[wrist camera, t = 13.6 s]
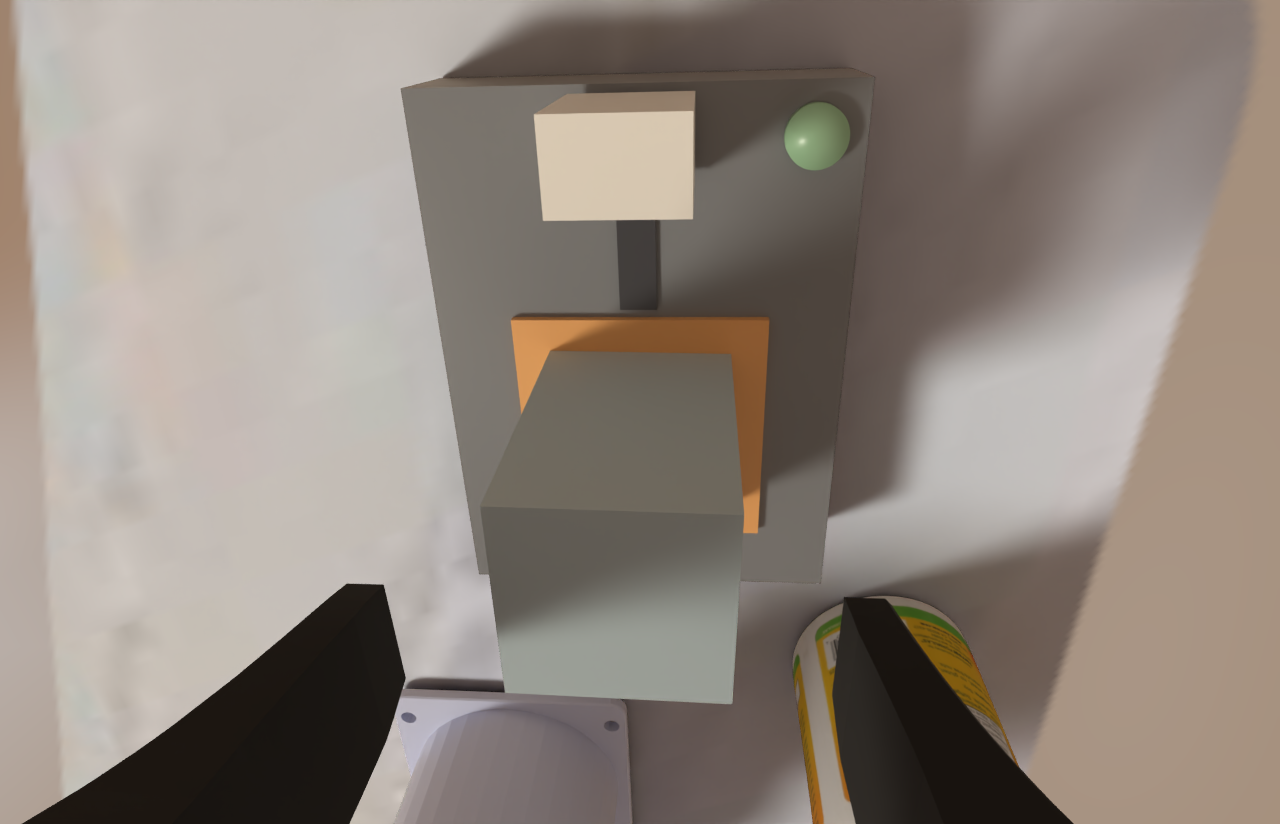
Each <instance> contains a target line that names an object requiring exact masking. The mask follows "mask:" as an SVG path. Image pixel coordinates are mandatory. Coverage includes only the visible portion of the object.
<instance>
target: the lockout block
mask: <svg viewBox="0 0 1280 824" xmlns="http://www.w3.org/2000/svg"><path fill="white" fill-rule="evenodd" d="M480 510H481V517H482V525H483V532H484V540H485V547H486V554H487V562H488V569H489V577H490V584H491V592H492V599H493V607H494V614H495V622H496V629H497V637H498V644H499V652H500V659H501V667H502V674H503V681H504V689H505V693H518V694H538V695H557V696H577V697H597V698H617V699H636V700H656V701H676V702H696V703H716V704H732V700H733V684H734V668H735V653H736V637H737V621H738V606H739V590H740V575H741V559H742V543H743V528H744V505H743V493H742V481H741V469H740V456H739V444H738V432H737V420H736V408H735V395H734V383H733V371H732V359H731V354H708V353H653V352H598V351H550V352H549V354H548V356H547V359H546V361H545V363H544V365H543V367H542V370H541V372H540V374H539V376H538V379H537V381H536V383H535V385H534V387H533V390H532V392H531V394H530V396H529V399H528V401H527V403H526V405H525V407H524V410H523V412H522V414H521V416H520V419H519V421H518V423H517V425H516V428H515V430H514V432H513V434H512V436H511V439H510V441H509V443H508V445H507V448H506V450H505V452H504V454H503V456H502V459H501V461H500V463H499V465H498V468H497V470H496V472H495V474H494V476H493V479H492V481H491V483H490V485H489V488H488V490H487V492H486V494H485V496H484V499H483V501H482V503H481V505H480Z"/></svg>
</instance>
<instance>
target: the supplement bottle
mask: <svg viewBox="0 0 1280 824" xmlns="http://www.w3.org/2000/svg"><path fill="white" fill-rule="evenodd" d="M864 598H885V599H886V600H887V601H888V602H889V603H890V604H891V605H892V606H893V608H894V609H895V611H896V612H897V614H898V615H899V617H900V618H901V619H902V621H903V622H904V624H905V625H906V627H907V628H908V629H909V631H910V632H911V634H912V635H913V637H914V638H915V639H916V641H917V642H918V644H919V645H920V646H921V648H922V649H923V650H924V652H925V653H926V654H927V656H928V657H929V659H930V660H931V661H932V663H933V664H934V665H935V667H936V668H937V669H938V671H939V672H940V673H941V674H942V676H943V677H944V678H945V680H946V681H947V682H948V684H949V685H950V686H951V687H952V689H953V690H954V691H955V692H956V694H957V695H958V696H959V697H960V699H961V700H962V701H963V702H964V703H965V705H966V706H967V707H968V708H969V710H970V711H971V712H972V713H973V715H974V716H975V717H976V718H977V720H978V721H979V722H980V723H981V724H982V726H983V727H984V728H985V729H986V730H987V731H988V733H989V734H990V735H991V736H992V737H993V738H994V740H995V741H996V742H997V743H998V744H999V745H1000V746H1001V748H1002V749H1003V750H1004V751H1005V752H1006V753H1007V754H1008V755H1009V757H1010V758H1011V759H1012V760H1013V761H1014V762H1015V763H1016V764H1017V766H1018V767H1019V765H1018V763H1017V761H1016V758H1015V756H1014V754H1013V751H1012V749H1011V746H1010V744H1009V742H1008V739H1007V737H1006V734H1005V732H1004V730H1003V727H1002V725H1001V722H1000V720H999V718H998V715H997V713H996V711H995V708H994V706H993V703H992V701H991V699H990V696H989V694H988V691H987V689H986V687H985V684H984V682H983V679H982V677H981V674H980V672H979V670H978V668H977V665H976V663H975V661H974V658H973V656H972V653H971V651H970V649H969V647H968V645H967V642H966V641H965V639H964V637H963V635H962V633H961V631H960V630H959V629H958V627H957V626H956V625H955V624H954V623H953V622H952V621H951V619H949V618H948V617H947V616H946V615H944V614H943V613H942V612H940V611H939V610H937V609H935V608H934V607H932V606H930V605H928V604H925V603H923V602H920V601H917V600H914V599H910V598H904V597H898V596H871V597H864ZM842 610H843V603H842V604H839V605H837V606H835V607H833V608H831V609H829V610H827V611H826V612H824V613H823V614H821V615H820V616H818V617H817V618H816V619H815V620H814V621H813V622H812V623H811V624H810V625H809V626H808V627H807V628H806V629H805V631H804V632H803V634H802V635H801V637H800V639H799V641H798V643H797V645H796V648H795V651H794V655H793V664H792V668H793V679H794V688H795V695H796V703H797V709H798V716H799V723H800V730H801V737H802V744H803V752H804V759H805V766H806V773H807V781H808V789H809V796H810V804H811V812H812V820H813V824H856V823H855V819H854V815H853V811H852V806H851V802H850V798H849V794H848V790H847V786H846V782H845V777H844V773H843V769H842V765H841V760H840V753H839V746H838V738H837V731H836V723H835V715H834V707H833V699H832V690H833V682H834V674H835V666H836V658H837V650H838V642H839V634H840V626H841V618H842Z"/></svg>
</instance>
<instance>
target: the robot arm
mask: <svg viewBox="0 0 1280 824" xmlns="http://www.w3.org/2000/svg"><path fill="white" fill-rule="evenodd" d="M405 679H406V677H405V673H404V669H403V665H402V660H401V656H400V652H399V648H398V644H397V639H396V635H395V631H394V627H393V622H392V618H391V614H390V610H389V605H388V601H387V597H386V593H385V589H384V585H376V584H346V585H345V586H343V587H342V588H341V589H340V590H338V591H337V592H336V593H335V594H333V595H332V596H331V597H330V598H329V599H327V600H326V601H325V602H324V603H323V604H321V605H320V606H319V607H318V608H317V609H316V610H314V611H313V612H312V613H311V614H310V615H309V616H307V617H306V618H305V619H304V620H303V621H302V622H300V623H299V624H298V625H297V626H296V627H295V628H293V629H292V630H291V631H290V632H289V633H287V634H286V635H285V636H284V637H283V638H282V639H280V640H279V641H278V642H277V643H276V644H274V645H273V646H272V647H271V648H270V649H268V650H267V651H266V652H265V653H264V654H262V655H261V656H260V657H259V658H258V659H256V660H255V661H254V662H253V663H252V664H250V665H249V666H248V667H247V668H246V669H244V670H243V671H242V672H241V673H240V674H238V675H237V676H236V677H235V678H234V679H232V680H231V681H230V682H228V683H227V684H226V685H225V686H223V687H222V688H221V689H219V690H218V691H217V692H215V693H214V694H213V695H212V696H210V697H209V698H208V699H206V700H205V701H204V702H203V703H201V704H200V705H199V706H197V707H196V708H195V709H193V710H192V711H191V712H190V713H188V714H187V715H186V716H184V717H183V718H182V719H181V720H179V721H178V722H177V723H175V724H174V725H173V726H171V727H170V728H169V729H167V730H166V731H165V732H163V733H162V734H160V735H159V736H158V737H156V738H155V739H154V740H152V741H151V742H149V743H148V744H146V745H145V746H144V747H142V748H141V749H139V750H138V751H136V752H135V753H134V754H132V755H131V756H129V757H128V758H126V759H125V760H123V761H122V762H120V763H119V764H117V765H116V766H114V767H113V768H111V769H110V770H108V771H107V772H105V773H104V774H102V775H101V776H99V777H98V778H96V779H95V780H93V781H92V782H90V783H88V784H87V785H85V786H84V787H82V788H81V789H79V790H77V791H76V792H74V793H72V794H71V795H69V796H67V797H66V798H64V799H62V800H61V801H59V802H57V803H56V804H55V805H52V806H51V807H49V808H47V809H46V810H44V811H43V812H41V813H39V814H37V815H36V816H34V817H32V818H31V819H29V820H27V821H26V822H24V823H23V824H349V823H350V821H351V819H352V817H353V814H354V812H355V810H356V808H357V806H358V803H359V801H360V799H361V797H362V795H363V792H364V790H365V788H366V786H367V784H368V781H369V779H370V777H371V775H372V772H373V770H374V768H375V766H376V763H377V761H378V759H379V757H380V754H381V752H382V750H383V747H384V745H385V743H386V740H387V737H388V734H389V731H390V728H391V725H392V722H393V719H394V716H395V717H396V721H397V725H398V729H399V733H400V737H401V741H402V745H403V749H404V752H405V756H406V760H407V764H408V768H409V772H410V776H411V779H410V781H409V784H408V787H407V789H406V792H405V794H404V797H403V800H402V802H401V805H400V808H399V810H398V813H397V815H396V818H395V821H394V823H393V824H633V819H632V799H631V780H630V760H629V740H628V721H627V707H626V704H625V703H624V702H623V701H622V700H620V699H617V698H597V697H577V696H557V695H538V694H518V693H503V692H478V691H452V690H427V689H403V686H404V682H405ZM832 699H833V707H834V715H835V723H836V731H837V738H838V746H839V753H840V760H841V765H842V769H843V773H844V777H845V782H846V786H847V790H848V794H849V798H850V802H851V806H852V811H853V815H854V819H855V823H856V824H1073V823H1072V822H1071V821H1070V820H1069V819H1068V818H1067V817H1066V816H1065V815H1064V814H1063V813H1062V812H1061V811H1060V810H1059V809H1058V808H1057V807H1056V806H1055V805H1054V804H1053V803H1052V802H1051V801H1050V800H1049V799H1048V798H1047V797H1046V796H1045V794H1044V793H1043V792H1042V791H1041V790H1040V789H1039V788H1038V787H1037V786H1036V785H1035V784H1034V783H1033V782H1032V781H1031V780H1030V779H1029V778H1028V776H1027V775H1026V774H1025V773H1024V772H1023V771H1022V770H1021V769H1020V768H1019V767H1018V766H1017V764H1016V763H1015V762H1014V761H1013V760H1012V759H1011V758H1010V757H1009V755H1008V754H1007V753H1006V752H1005V751H1004V750H1003V749H1002V748H1001V746H1000V745H999V744H998V743H997V742H996V741H995V740H994V738H993V737H992V736H991V735H990V734H989V733H988V731H987V730H986V729H985V728H984V727H983V726H982V724H981V723H980V722H979V721H978V720H977V718H976V717H975V716H974V715H973V713H972V712H971V711H970V710H969V708H968V707H967V706H966V705H965V703H964V702H963V701H962V700H961V699H960V697H959V696H958V695H957V694H956V692H955V691H954V690H953V689H952V687H951V686H950V685H949V684H948V682H947V681H946V680H945V678H944V677H943V676H942V674H941V673H940V672H939V671H938V669H937V668H936V667H935V665H934V664H933V663H932V661H931V660H930V659H929V657H928V656H927V654H926V653H925V652H924V650H923V649H922V648H921V646H920V645H919V644H918V642H917V641H916V639H915V638H914V637H913V635H912V634H911V632H910V631H909V629H908V628H907V627H906V625H905V624H904V622H903V621H902V619H901V618H900V617H899V615H898V614H897V612H896V611H895V609H894V608H893V606H892V605H891V604H890V603H889V602H888V601H887V600H886V599H885V598H848V597H844V602H843V610H842V618H841V626H840V634H839V642H838V650H837V658H836V666H835V674H834V682H833V690H832ZM611 721H615V722H611Z"/></svg>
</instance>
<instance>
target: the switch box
mask: <svg viewBox="0 0 1280 824" xmlns="http://www.w3.org/2000/svg"><path fill="white" fill-rule="evenodd" d="M874 81H875V77H874V76H871V75H868V74H866V73H863V72H861V71H858V70H856V69H853V68H829V69H790V70H750V71H710V72H670V73H630V74H591V75H551V76H511V77H471V78H439V79H435V80H432V81H428V82H424V83H420V84H416V85H412V86H408V87H404V88H401V94H402V100H403V106H404V112H405V118H406V125H407V131H408V137H409V143H410V149H411V155H412V162H413V168H414V174H415V180H416V186H417V193H418V199H419V205H420V211H421V217H422V224H423V230H424V236H425V242H426V248H427V255H428V261H429V267H430V273H431V279H432V285H433V292H434V298H435V304H436V310H437V316H438V323H439V329H440V335H441V341H442V347H443V354H444V360H445V366H446V372H447V378H448V384H449V391H450V397H451V403H452V409H453V415H454V422H455V428H456V434H457V440H458V446H459V453H460V459H461V465H462V471H463V477H464V484H465V490H466V496H467V502H468V508H469V514H470V521H471V527H472V533H473V539H474V545H475V552H476V558H477V564H478V570H479V574H489V569H488V562H487V554H486V547H485V540H484V532H483V525H482V517H481V510H480V505H481V503H482V501H483V499H484V496H485V494H486V492H487V490H488V488H489V485H490V483H491V481H492V479H493V476H494V474H495V472H496V470H497V468H498V465H499V463H500V461H501V459H502V456H503V454H504V452H505V450H506V448H507V445H508V443H509V441H510V439H511V436H512V434H513V432H514V430H515V428H516V425H517V423H518V421H519V419H520V416H521V414H522V412H523V410H524V407H525V405H526V403H527V401H528V399H529V396H530V394H531V392H532V390H533V387H534V385H535V383H536V381H537V379H538V376H539V374H540V372H541V370H542V367H543V365H544V363H545V361H546V359H547V356H548V354H549V352H550V351H598V352H653V353H708V354H731V359H732V371H733V383H734V395H735V408H736V420H737V432H738V444H739V456H740V469H741V481H742V493H743V505H744V528H743V543H742V559H741V575H740V581H751V582H788V583H821V575H822V566H823V557H824V547H825V538H826V529H827V519H828V510H829V501H830V491H831V482H832V473H833V463H834V454H835V445H836V435H837V426H838V417H839V407H840V398H841V389H842V379H843V370H844V361H845V351H846V342H847V333H848V323H849V314H850V305H851V295H852V286H853V277H854V267H855V258H856V249H857V239H858V230H859V221H860V211H861V202H862V193H863V183H864V174H865V165H866V155H867V146H868V137H869V127H870V118H871V109H872V99H873V90H874ZM665 91H695V188H694V209H693V219H678V220H578V221H543V215H542V204H541V192H540V181H539V169H538V158H537V146H536V135H535V124H534V114H535V113H537V112H538V111H540V110H542V109H543V108H545V107H547V106H548V105H550V104H551V103H553V102H555V101H556V100H558V99H560V98H561V97H563V96H564V95H566V94H579V93H622V92H665Z"/></svg>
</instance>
